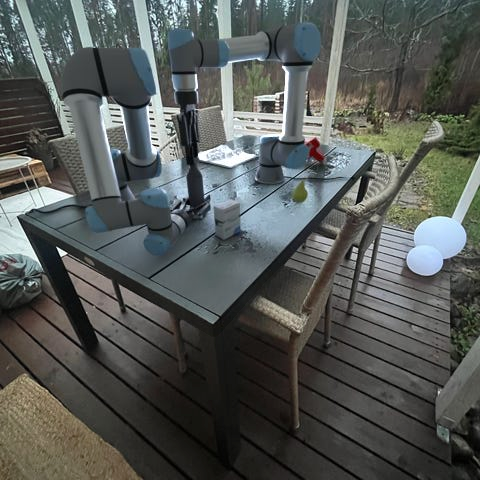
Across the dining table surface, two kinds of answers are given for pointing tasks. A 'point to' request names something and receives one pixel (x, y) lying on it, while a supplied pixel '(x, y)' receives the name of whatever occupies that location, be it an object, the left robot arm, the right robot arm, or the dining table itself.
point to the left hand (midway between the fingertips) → (201, 196)
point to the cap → (195, 159)
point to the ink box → (227, 218)
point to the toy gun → (314, 149)
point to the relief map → (225, 156)
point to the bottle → (195, 186)
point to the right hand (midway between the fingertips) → (192, 162)
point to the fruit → (300, 192)
